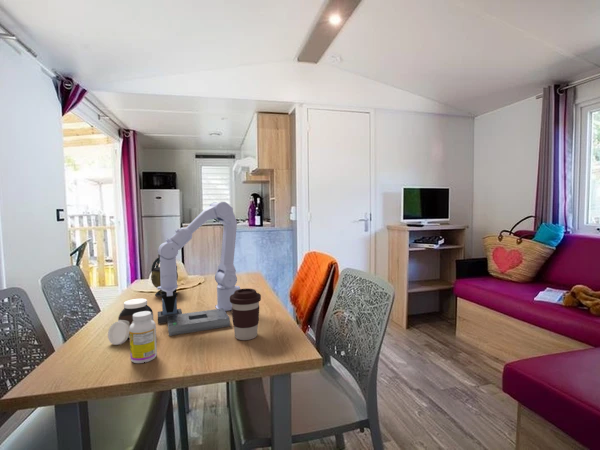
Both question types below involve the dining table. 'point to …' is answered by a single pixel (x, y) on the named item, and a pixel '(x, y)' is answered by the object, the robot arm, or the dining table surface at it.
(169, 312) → the plug
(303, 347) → the dining table surface
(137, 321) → the supplement bottle
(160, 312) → the holster
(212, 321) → the panel
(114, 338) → the spread jar
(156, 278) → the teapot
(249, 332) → the coffee cup
